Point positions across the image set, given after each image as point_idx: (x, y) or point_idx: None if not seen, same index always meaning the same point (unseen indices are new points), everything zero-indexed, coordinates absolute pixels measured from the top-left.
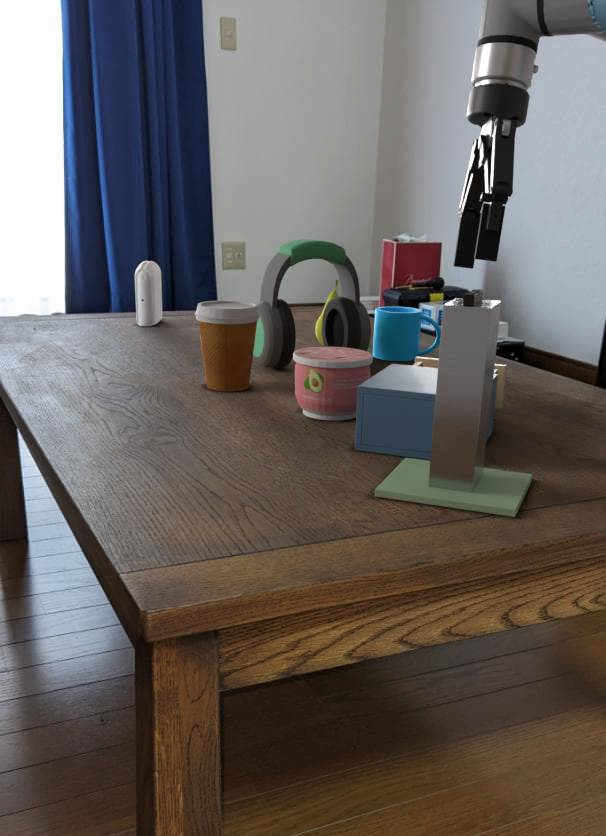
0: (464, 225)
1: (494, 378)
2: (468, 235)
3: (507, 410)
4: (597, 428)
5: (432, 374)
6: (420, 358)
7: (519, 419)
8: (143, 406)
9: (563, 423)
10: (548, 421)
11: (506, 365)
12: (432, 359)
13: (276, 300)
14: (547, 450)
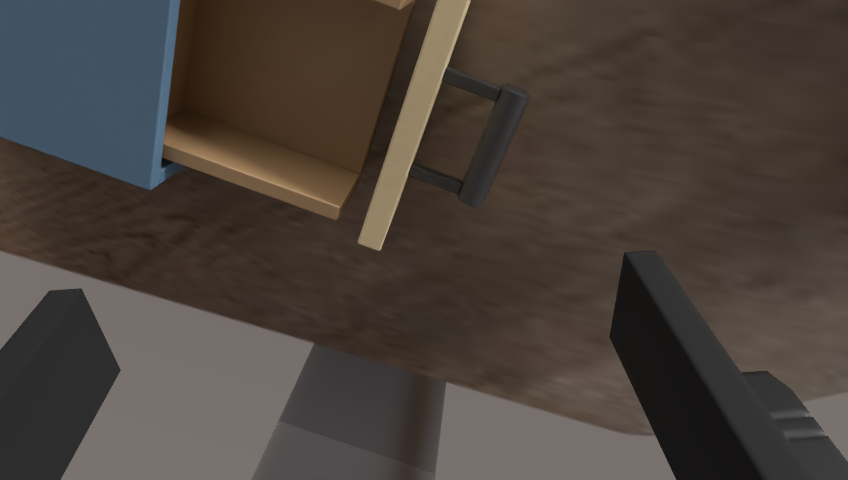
0: (732, 468)
1: (95, 170)
2: (688, 436)
3: (434, 217)
4: (317, 342)
5: (68, 3)
6: (436, 5)
7: (356, 224)
8: None
9: (341, 297)
10: (351, 275)
11: (377, 250)
12: (423, 47)
13: None
14: (138, 219)
